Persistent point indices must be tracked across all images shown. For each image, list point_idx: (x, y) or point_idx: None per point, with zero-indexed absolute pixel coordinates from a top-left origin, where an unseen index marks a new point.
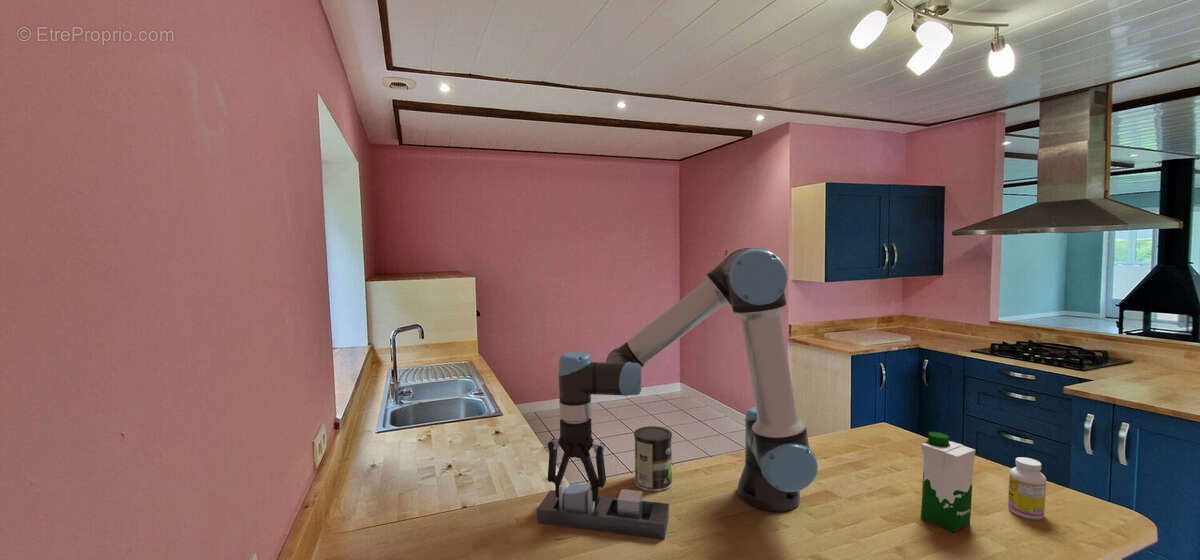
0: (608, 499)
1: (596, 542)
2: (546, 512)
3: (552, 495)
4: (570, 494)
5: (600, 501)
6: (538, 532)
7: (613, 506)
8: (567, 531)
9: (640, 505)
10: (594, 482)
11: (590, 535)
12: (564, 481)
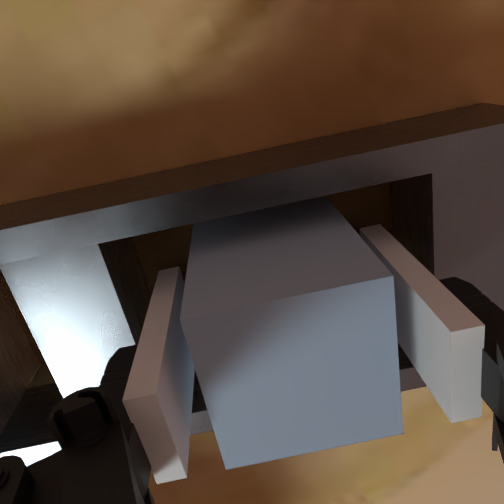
0: None
1: (11, 69)
2: (461, 126)
3: None
4: (323, 289)
5: None
6: (437, 4)
7: None
8: (256, 103)
9: None
10: (67, 486)
11: (95, 126)
12: (459, 417)
